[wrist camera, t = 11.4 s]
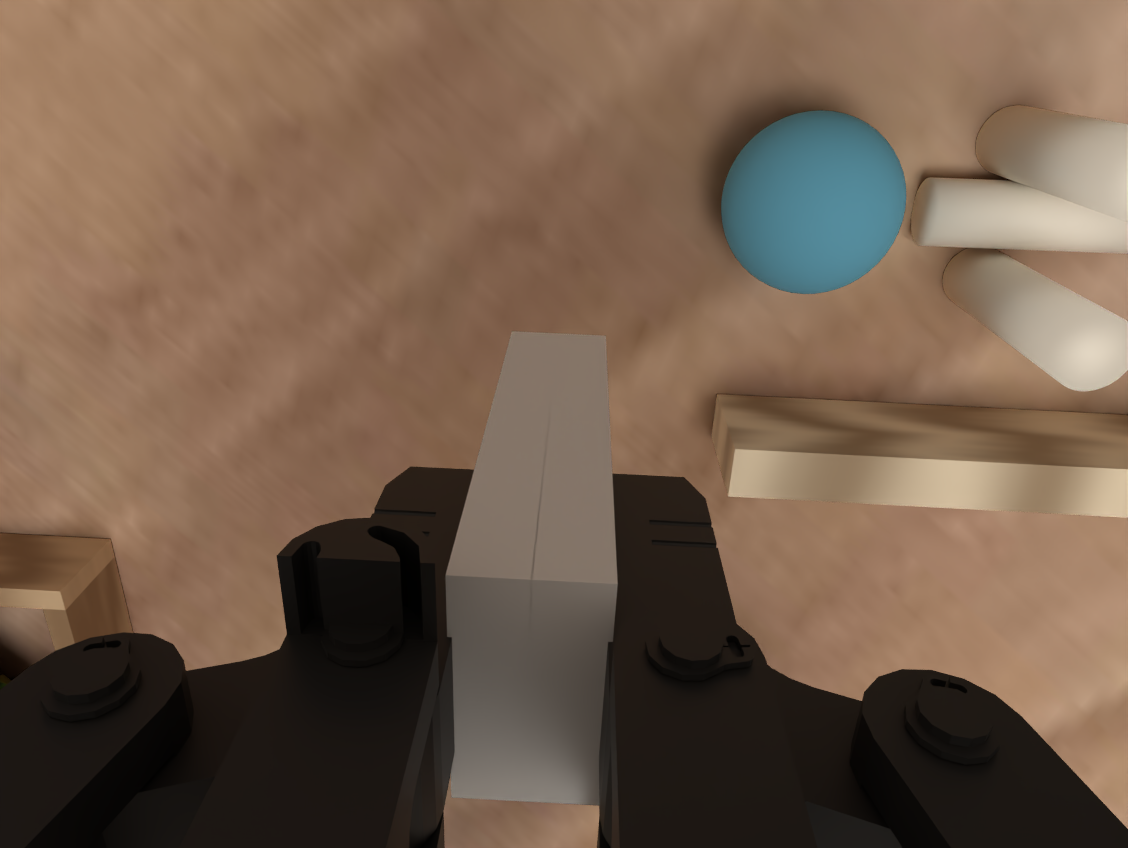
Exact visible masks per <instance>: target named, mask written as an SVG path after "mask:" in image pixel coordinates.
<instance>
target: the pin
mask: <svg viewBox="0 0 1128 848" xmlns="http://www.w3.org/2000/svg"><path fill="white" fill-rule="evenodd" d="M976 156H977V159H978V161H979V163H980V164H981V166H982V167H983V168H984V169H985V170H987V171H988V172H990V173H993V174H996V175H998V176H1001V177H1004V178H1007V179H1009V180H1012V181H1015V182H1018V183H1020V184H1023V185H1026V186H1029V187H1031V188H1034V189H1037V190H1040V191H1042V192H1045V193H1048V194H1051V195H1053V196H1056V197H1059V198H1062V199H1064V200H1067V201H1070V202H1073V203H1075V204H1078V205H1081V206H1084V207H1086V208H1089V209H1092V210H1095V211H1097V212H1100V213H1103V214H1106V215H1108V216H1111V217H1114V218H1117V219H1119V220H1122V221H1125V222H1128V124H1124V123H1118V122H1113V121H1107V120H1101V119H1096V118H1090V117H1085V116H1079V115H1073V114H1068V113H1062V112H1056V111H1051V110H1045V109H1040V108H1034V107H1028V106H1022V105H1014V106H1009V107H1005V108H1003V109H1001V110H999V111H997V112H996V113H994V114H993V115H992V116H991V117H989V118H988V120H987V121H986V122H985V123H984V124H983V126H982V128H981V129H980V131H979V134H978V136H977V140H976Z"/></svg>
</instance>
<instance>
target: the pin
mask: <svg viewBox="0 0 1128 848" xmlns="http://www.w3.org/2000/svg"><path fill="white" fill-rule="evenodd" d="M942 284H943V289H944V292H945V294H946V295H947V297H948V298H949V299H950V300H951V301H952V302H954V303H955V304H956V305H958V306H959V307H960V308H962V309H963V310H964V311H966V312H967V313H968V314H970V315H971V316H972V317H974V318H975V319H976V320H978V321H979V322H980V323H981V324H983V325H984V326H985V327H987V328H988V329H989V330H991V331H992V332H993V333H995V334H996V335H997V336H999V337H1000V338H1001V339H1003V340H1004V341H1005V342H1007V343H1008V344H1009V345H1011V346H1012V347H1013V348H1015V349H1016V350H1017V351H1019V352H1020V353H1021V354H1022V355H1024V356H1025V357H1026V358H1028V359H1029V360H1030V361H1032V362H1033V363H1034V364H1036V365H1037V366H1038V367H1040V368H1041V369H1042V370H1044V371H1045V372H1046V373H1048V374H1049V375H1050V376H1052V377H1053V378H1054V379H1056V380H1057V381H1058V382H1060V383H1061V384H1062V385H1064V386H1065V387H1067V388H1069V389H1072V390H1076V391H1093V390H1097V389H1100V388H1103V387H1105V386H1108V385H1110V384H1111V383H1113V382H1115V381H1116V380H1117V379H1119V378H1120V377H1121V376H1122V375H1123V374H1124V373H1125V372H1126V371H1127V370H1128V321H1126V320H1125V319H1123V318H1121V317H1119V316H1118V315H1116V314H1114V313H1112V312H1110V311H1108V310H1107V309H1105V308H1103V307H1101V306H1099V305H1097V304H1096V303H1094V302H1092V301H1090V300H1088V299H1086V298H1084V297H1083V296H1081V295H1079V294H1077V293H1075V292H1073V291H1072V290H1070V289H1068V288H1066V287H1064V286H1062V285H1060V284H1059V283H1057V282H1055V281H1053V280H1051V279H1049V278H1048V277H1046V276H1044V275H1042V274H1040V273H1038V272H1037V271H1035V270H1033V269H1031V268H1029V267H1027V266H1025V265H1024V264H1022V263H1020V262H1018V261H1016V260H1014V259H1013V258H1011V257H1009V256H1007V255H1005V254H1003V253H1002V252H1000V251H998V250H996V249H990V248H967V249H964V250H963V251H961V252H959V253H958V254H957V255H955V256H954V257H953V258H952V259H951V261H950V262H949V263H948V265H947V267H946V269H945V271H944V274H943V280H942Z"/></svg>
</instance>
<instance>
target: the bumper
mask: <svg viewBox="0 0 1128 848" xmlns="http://www.w3.org/2000/svg"><path fill="white" fill-rule="evenodd" d="M711 437H712V441H713V444H714V448H715V452H716V455H717V459H718V462H719V466H720V469H721V473H722V477H723V480H724V484H725V487H726V491H727V494H728V497H747V498H766V499H785V500H804V501H823V502H842V503H861V504H880V505H898V506H917V507H936V508H955V509H974V510H993V511H1012V512H1031V513H1050V514H1069V515H1088V516H1107V517H1126V518H1128V415H1120V414H1100V413H1080V412H1061V411H1041V410H1021V409H1001V408H982V407H962V406H942V405H923V404H903V403H883V402H863V401H844V400H824V399H804V398H785V397H765V396H745V395H725V394H717V398H716V405H715V413H714V420H713V428H712V436H711Z"/></svg>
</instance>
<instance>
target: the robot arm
mask: <svg viewBox="0 0 1128 848" xmlns="http://www.w3.org/2000/svg"><path fill="white" fill-rule="evenodd" d="M277 561H278V569H279V577H280V584H281V592H282V599H283V607H284V614H285V622H286V629H287V636H286V638H285V640H284V642H283V644H282V646H281V648H280V649H279V650H277V651H275V652H272V653H270V654H267V655H265V656H261V657H257V658H253V659H249V660H245V661H241V662H235V663H229V664H224V665H218V666H212V667H207V668H201V669H195V670H189V671H186V670H185V665H184V660H183V659H182V657H181V656H180V654H179V652H178V651H177V649H176V648H175V646H174V644H172V643H169V642H167V641H165V640H163V639H161V638H159V637H157V636H154V635H151V634H139V633H126V632H122V633H116V634H110V635H104V636H97V637H91V638H88V639H85V640H83V641H80V642H77V643H75V644H72V645H69V646H67V647H64V648H61V649H59V650H56V651H55V652H53V653H51V654H50V655H48V656H47V657H45V658H43V659H42V660H40V661H38V662H37V663H35V664H34V665H32V666H30V667H29V668H27V669H26V670H25V671H23V672H22V673H21V674H19V675H18V676H17V677H16V678H14V679H13V680H12V681H11V682H9V683H8V684H7V685H6V686H4V687H3V688H2V689H1V690H0V848H445V847H444V817H443V810H444V805H445V799H446V794H447V789H448V784H449V779H450V773H451V797H452V798H470V799H489V800H508V801H526V802H545V803H563V804H582V805H599V810H600V817H599V829H598V841H597V848H1128V829H1127V828H1126V827H1125V826H1124V825H1123V824H1122V822H1121V821H1120V820H1119V819H1118V818H1117V817H1116V816H1115V815H1114V814H1113V813H1112V812H1111V811H1110V810H1109V809H1108V808H1107V807H1106V805H1105V804H1104V803H1103V802H1102V801H1101V800H1100V799H1099V798H1098V797H1097V796H1096V795H1095V794H1094V793H1093V792H1092V791H1091V790H1090V789H1089V787H1088V786H1087V785H1086V784H1085V783H1084V782H1083V781H1082V780H1081V779H1080V778H1079V777H1078V776H1077V775H1076V774H1075V773H1074V772H1073V770H1072V769H1071V768H1070V767H1069V766H1068V765H1067V764H1066V763H1065V762H1064V761H1063V760H1062V759H1061V758H1060V757H1059V756H1058V755H1057V754H1056V752H1055V751H1054V750H1053V749H1052V748H1051V747H1050V746H1049V745H1048V744H1047V743H1046V742H1045V741H1044V740H1043V739H1042V738H1041V737H1040V735H1039V734H1038V733H1037V732H1036V731H1035V730H1034V729H1033V728H1032V727H1031V726H1030V725H1029V724H1028V723H1027V722H1026V721H1025V720H1024V719H1023V717H1022V716H1020V715H1019V714H1018V713H1017V712H1015V711H1014V710H1013V709H1012V708H1011V707H1009V706H1008V705H1007V704H1006V703H1005V702H1003V701H1002V700H1001V699H1000V698H998V697H997V696H996V695H994V694H993V693H991V692H989V691H987V690H985V689H983V688H981V687H979V686H977V685H975V684H973V683H971V682H969V681H967V680H965V679H962V678H959V677H955V676H951V675H948V674H944V673H940V672H936V671H933V670H906V669H901V670H898V671H895V672H892V673H889V674H886V675H883V676H879V677H878V678H877V679H876V680H875V681H874V682H873V683H872V684H871V685H870V686H869V688H868V689H867V690H866V691H865V692H864V696H863V700H862V701H859V700H856V699H852V698H849V697H845V696H842V695H838V694H835V693H831V692H828V691H824V690H821V689H817V688H814V687H811V686H808V685H806V684H803V683H800V682H798V681H795V680H792V679H790V678H788V677H787V676H785V675H783V674H781V673H779V672H778V671H776V670H774V669H772V668H771V667H769V666H768V665H767V663H766V659H765V657H764V655H763V653H762V652H761V650H760V648H759V646H758V644H757V643H756V641H755V639H754V638H753V637H752V636H751V635H749V634H748V633H747V632H746V631H745V630H743V629H742V628H741V627H740V626H738V625H737V624H736V620H735V616H734V612H733V608H732V603H731V599H730V595H729V591H728V587H727V583H726V579H725V575H724V571H723V567H722V563H721V559H720V555H719V551H718V548H716V539H715V535H714V531H713V528H711V519H710V515H709V511H708V507H707V503H706V499H705V498H704V497H703V496H702V495H701V494H700V493H699V492H698V491H697V490H696V489H695V488H694V487H693V486H692V485H691V484H690V483H689V482H688V481H687V480H686V479H685V478H684V477H668V476H648V475H627V474H612V457H611V436H610V415H609V394H608V373H607V352H606V336H602V335H581V334H560V333H539V332H518V331H512V333H511V337H510V340H509V344H508V348H507V351H506V355H505V359H504V362H503V366H502V370H501V373H500V377H499V381H498V384H497V388H496V392H495V395H494V399H493V403H492V406H491V410H490V414H489V417H488V421H487V425H486V428H485V432H484V436H483V439H482V443H481V447H480V450H479V454H478V458H477V461H476V465H475V469H474V470H469V469H448V468H428V467H409V468H408V469H407V470H405V471H404V472H403V473H401V474H400V475H399V476H398V477H396V478H395V479H394V480H392V481H391V482H390V483H388V484H387V485H386V486H385V488H384V490H383V492H382V494H381V496H380V498H379V501H378V503H377V505H376V507H375V512H374V514H372V516H371V518H357V519H344V520H340V521H336V522H332V523H329V524H325V525H321V526H317V527H315V528H313V529H311V530H309V531H307V532H305V533H304V534H302V535H300V536H298V537H296V538H294V539H292V540H291V541H290V543H289V544H288V545H287V546H286V547H285V548H284V549H283V550H282V551H281V552H280V553H279V554H278V555H277Z"/></svg>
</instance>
